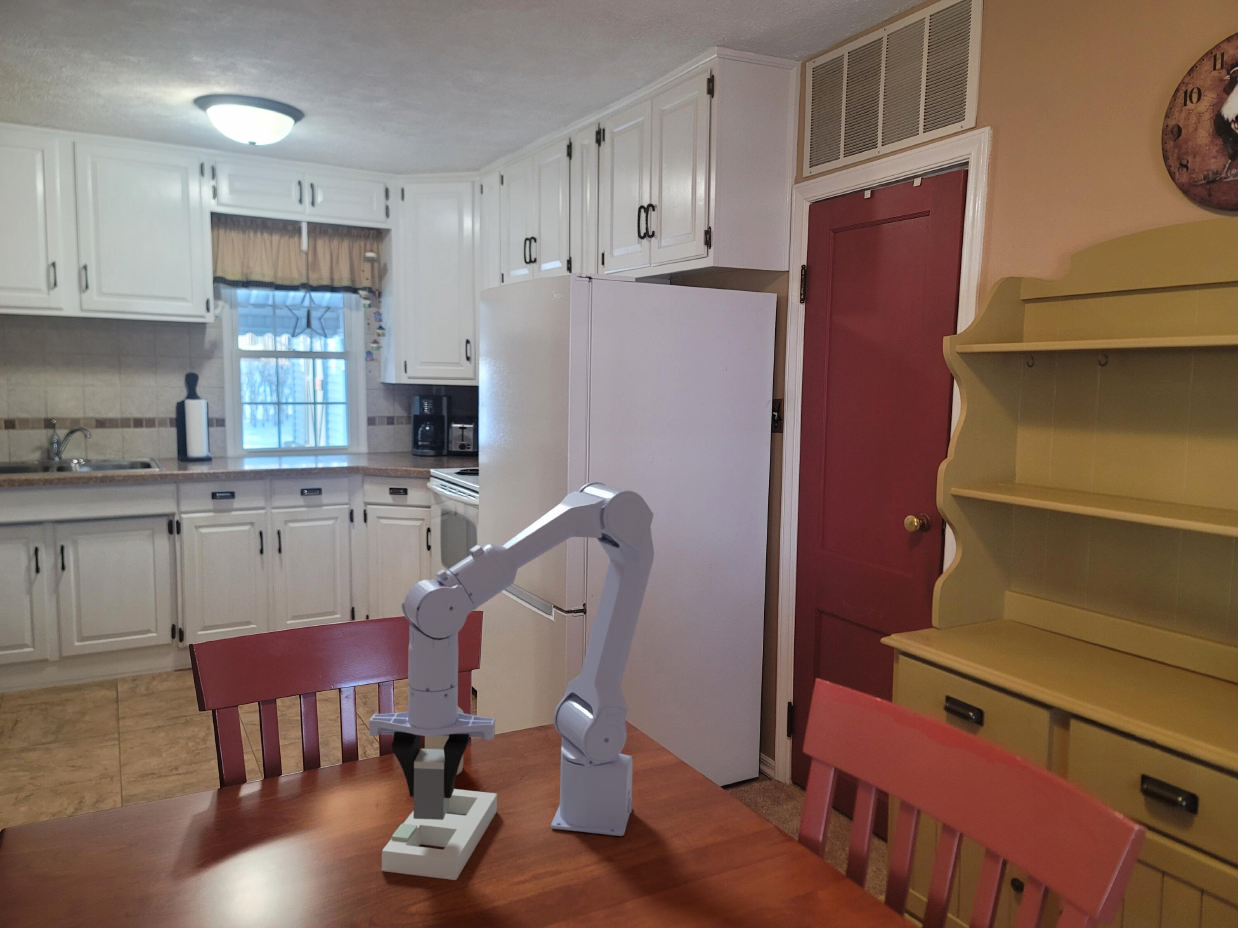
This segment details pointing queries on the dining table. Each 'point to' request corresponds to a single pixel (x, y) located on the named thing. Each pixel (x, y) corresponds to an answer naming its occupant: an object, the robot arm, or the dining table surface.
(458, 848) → the socket strip
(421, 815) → the plug
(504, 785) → the dining table surface
